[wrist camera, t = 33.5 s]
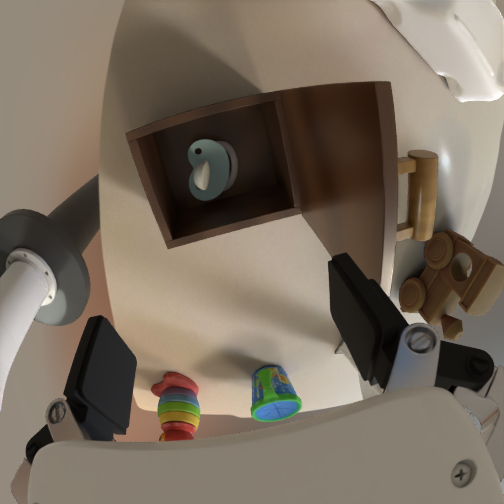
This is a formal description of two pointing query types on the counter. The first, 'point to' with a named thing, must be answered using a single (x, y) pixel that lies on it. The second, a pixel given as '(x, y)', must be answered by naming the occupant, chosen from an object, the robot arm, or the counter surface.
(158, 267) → the counter surface
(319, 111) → the lid
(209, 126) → the chest
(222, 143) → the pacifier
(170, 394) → the stacking bear
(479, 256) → the wooden toy train
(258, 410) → the snack cup
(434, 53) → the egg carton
